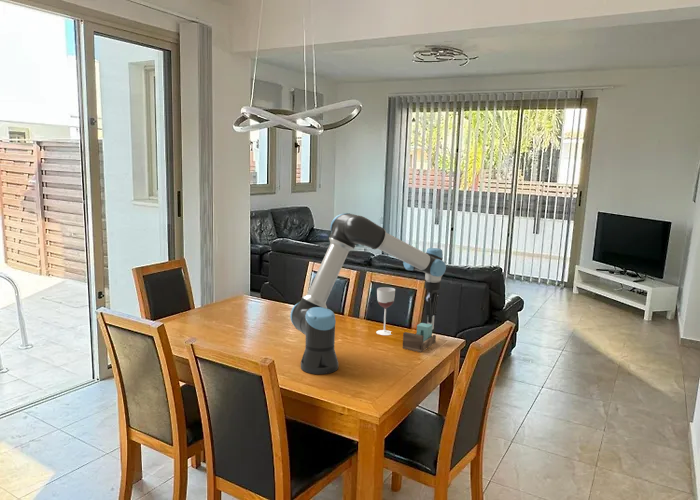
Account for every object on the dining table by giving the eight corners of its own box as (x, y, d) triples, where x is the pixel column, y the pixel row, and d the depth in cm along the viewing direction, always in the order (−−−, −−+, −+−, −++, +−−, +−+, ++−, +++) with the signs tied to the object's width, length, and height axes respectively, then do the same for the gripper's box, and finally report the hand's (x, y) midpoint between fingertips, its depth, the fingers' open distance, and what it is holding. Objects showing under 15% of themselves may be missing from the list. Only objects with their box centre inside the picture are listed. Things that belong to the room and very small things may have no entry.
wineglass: (372, 333, 251) (373, 289, 248) (380, 328, 259) (382, 286, 256) (388, 336, 247) (390, 292, 244) (396, 331, 255) (398, 288, 252)
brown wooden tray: (420, 352, 226) (421, 336, 225) (402, 348, 231) (403, 333, 230) (435, 342, 241) (436, 327, 240) (418, 338, 245) (418, 324, 244)
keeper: (427, 341, 236) (428, 327, 235) (416, 339, 239) (417, 325, 238) (431, 339, 241) (432, 324, 239) (420, 336, 243) (421, 322, 242)
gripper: (435, 284, 235) (432, 333, 238) (445, 279, 246) (442, 326, 249) (420, 281, 238) (417, 330, 242) (431, 277, 249) (428, 324, 253)
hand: (430, 328), depth 246 cm, fingers closed
